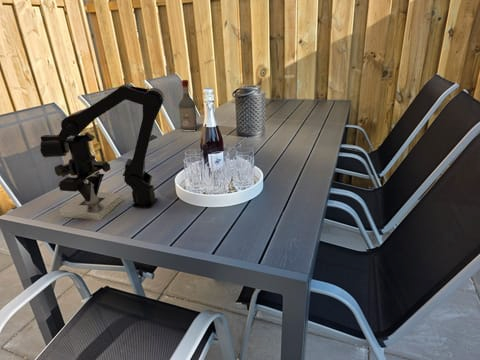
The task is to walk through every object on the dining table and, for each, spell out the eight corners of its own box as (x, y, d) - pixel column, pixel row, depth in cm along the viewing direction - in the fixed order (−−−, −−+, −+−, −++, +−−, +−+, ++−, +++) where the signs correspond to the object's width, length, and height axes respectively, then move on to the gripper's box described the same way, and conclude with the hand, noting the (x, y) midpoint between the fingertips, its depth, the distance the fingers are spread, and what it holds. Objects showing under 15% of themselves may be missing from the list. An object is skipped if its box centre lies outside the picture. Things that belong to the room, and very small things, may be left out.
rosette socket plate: (123, 200, 113) (122, 193, 112) (100, 220, 100) (98, 213, 99) (88, 197, 116) (86, 191, 115) (61, 216, 103) (59, 209, 102)
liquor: (195, 131, 196) (191, 81, 183) (180, 132, 196) (175, 81, 184) (197, 128, 204) (193, 79, 192) (183, 128, 204) (178, 79, 192)
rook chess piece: (96, 200, 110) (91, 179, 107) (102, 204, 108) (97, 182, 104) (83, 205, 107) (78, 183, 104) (89, 209, 105) (84, 187, 101)
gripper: (77, 144, 110) (87, 185, 116) (36, 164, 93) (50, 210, 100) (107, 146, 108) (115, 187, 114) (70, 165, 91) (82, 213, 98)
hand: (91, 198), depth 107 cm, fingers closed on rook chess piece, 3 cm apart
